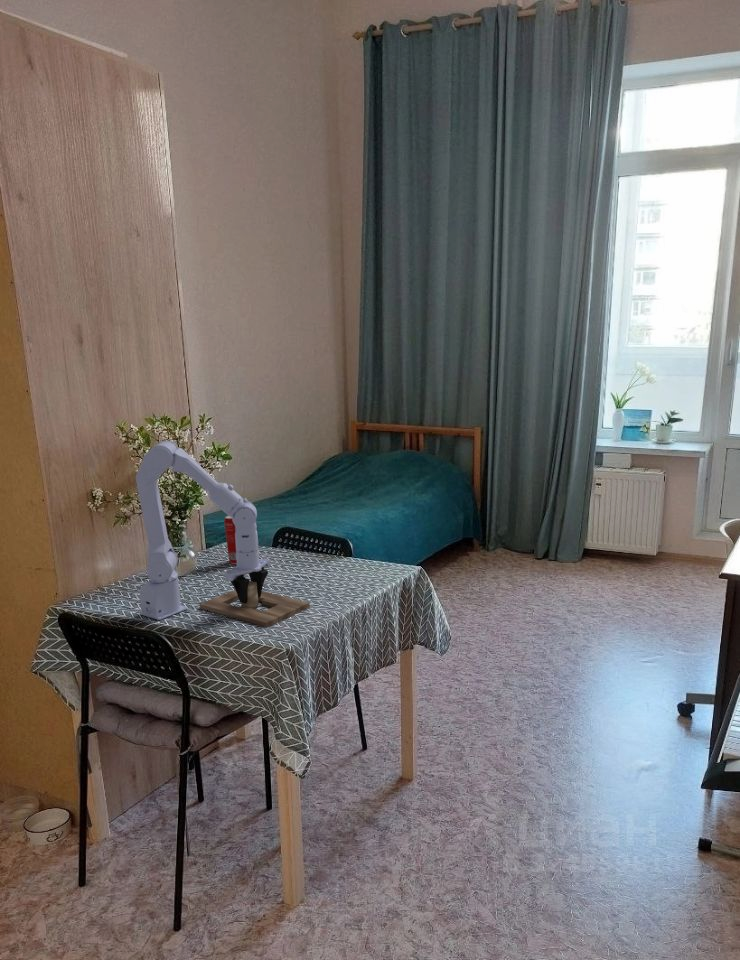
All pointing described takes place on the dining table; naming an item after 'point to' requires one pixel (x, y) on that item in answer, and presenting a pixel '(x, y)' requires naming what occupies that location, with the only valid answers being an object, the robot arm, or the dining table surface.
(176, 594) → the robot arm
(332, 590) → the dining table surface
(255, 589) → the birch peg
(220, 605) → the keyhole plate
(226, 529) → the beverage can
